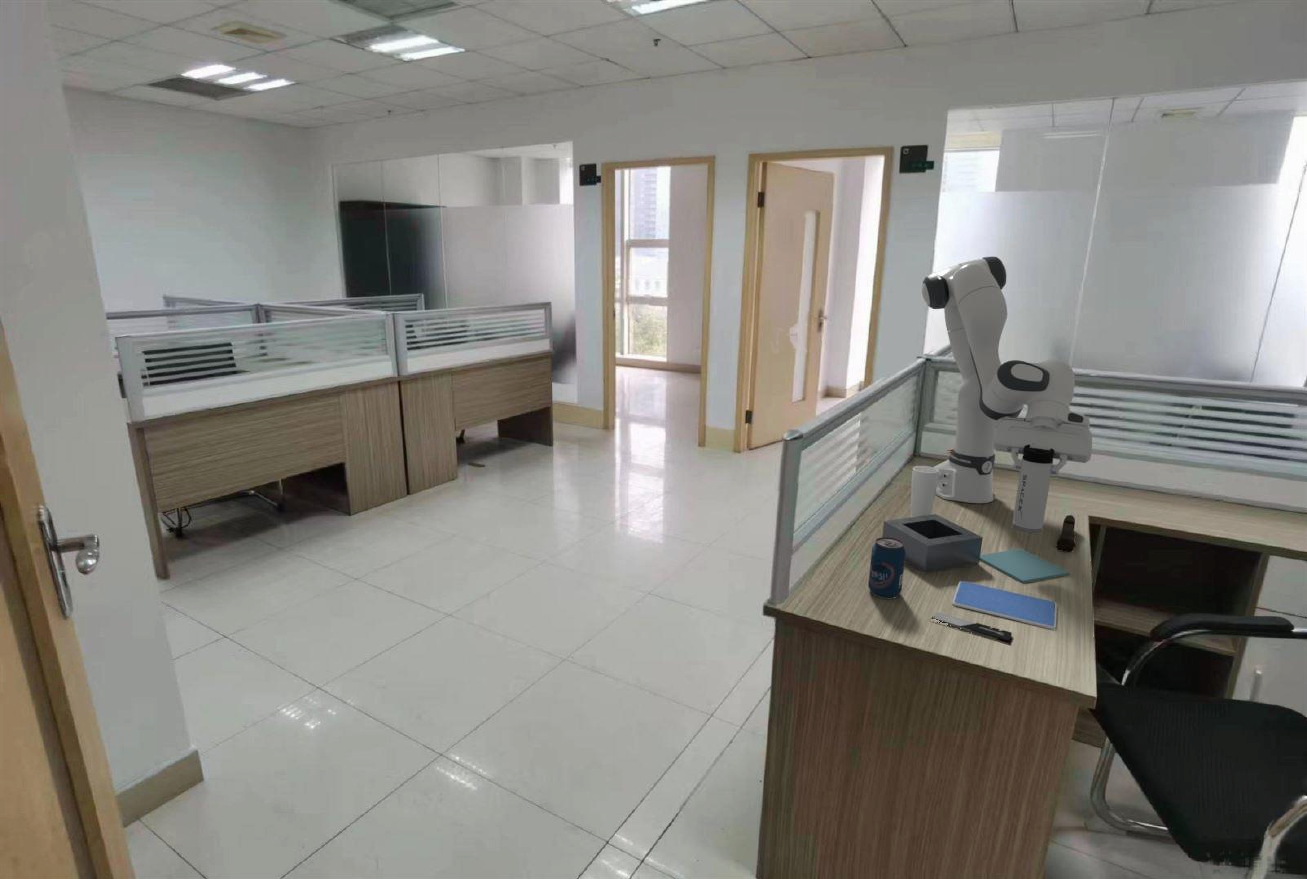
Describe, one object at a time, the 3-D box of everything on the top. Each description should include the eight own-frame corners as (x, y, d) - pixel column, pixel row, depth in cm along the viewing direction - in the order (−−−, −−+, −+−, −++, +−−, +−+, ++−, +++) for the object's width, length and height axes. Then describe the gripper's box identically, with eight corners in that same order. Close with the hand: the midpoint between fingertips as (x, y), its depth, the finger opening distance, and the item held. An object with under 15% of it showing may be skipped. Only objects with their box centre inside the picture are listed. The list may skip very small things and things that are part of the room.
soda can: (862, 593, 149) (867, 542, 146) (875, 582, 154) (880, 533, 151) (893, 603, 145) (899, 551, 142) (905, 592, 150) (911, 541, 147)
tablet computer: (1056, 606, 146) (1057, 600, 145) (1055, 633, 135) (1056, 627, 135) (958, 584, 155) (959, 579, 155) (950, 608, 145) (951, 602, 144)
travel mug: (1038, 525, 162) (1051, 444, 158) (1044, 535, 156) (1058, 450, 152) (1009, 522, 164) (1021, 441, 160) (1014, 531, 158) (1027, 448, 154)
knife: (930, 618, 138) (935, 610, 141) (929, 622, 138) (934, 614, 141) (1010, 642, 130) (1014, 633, 133) (1010, 646, 130) (1013, 637, 133)
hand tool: (1073, 554, 170) (1076, 537, 169) (1054, 550, 173) (1058, 533, 171) (1079, 531, 185) (1083, 515, 184) (1062, 528, 188) (1065, 512, 186)
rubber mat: (976, 558, 167) (976, 555, 167) (1020, 550, 172) (1020, 548, 172) (1022, 583, 155) (1023, 580, 155) (1069, 574, 159) (1069, 572, 159)
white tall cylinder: (933, 518, 193) (939, 467, 189) (932, 526, 187) (938, 474, 183) (908, 514, 196) (914, 464, 192) (906, 522, 190) (911, 470, 186)
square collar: (881, 546, 174) (883, 521, 172) (932, 538, 179) (935, 513, 177) (924, 573, 159) (927, 545, 157) (978, 564, 164) (982, 537, 162)
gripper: (997, 408, 165) (985, 456, 160) (1097, 419, 154) (1088, 470, 149) (998, 422, 170) (986, 469, 165) (1094, 434, 159) (1085, 484, 153)
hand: (1035, 470), depth 157 cm, fingers closed on travel mug, 6 cm apart
